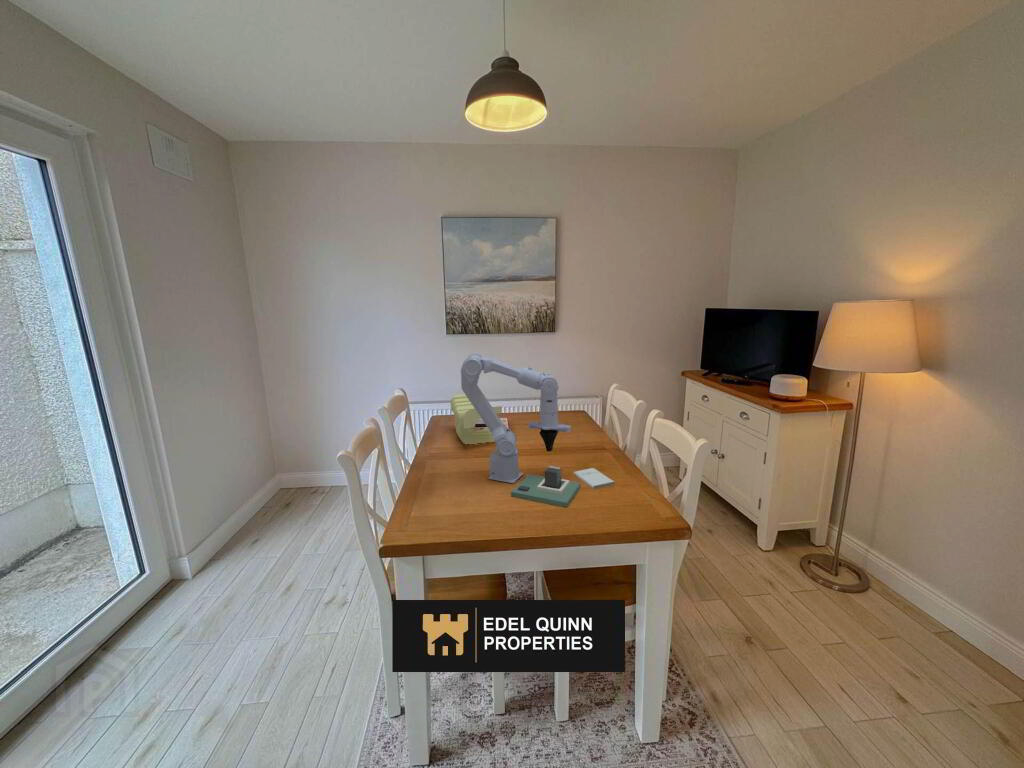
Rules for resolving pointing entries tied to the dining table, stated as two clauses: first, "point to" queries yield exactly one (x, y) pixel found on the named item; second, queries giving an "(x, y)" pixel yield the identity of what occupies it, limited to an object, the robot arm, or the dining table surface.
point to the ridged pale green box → (469, 420)
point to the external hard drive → (593, 478)
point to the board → (546, 491)
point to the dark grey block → (553, 477)
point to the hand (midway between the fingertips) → (549, 450)
